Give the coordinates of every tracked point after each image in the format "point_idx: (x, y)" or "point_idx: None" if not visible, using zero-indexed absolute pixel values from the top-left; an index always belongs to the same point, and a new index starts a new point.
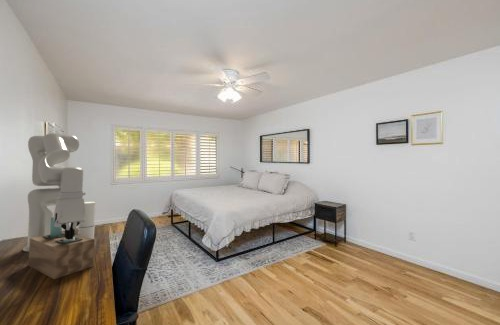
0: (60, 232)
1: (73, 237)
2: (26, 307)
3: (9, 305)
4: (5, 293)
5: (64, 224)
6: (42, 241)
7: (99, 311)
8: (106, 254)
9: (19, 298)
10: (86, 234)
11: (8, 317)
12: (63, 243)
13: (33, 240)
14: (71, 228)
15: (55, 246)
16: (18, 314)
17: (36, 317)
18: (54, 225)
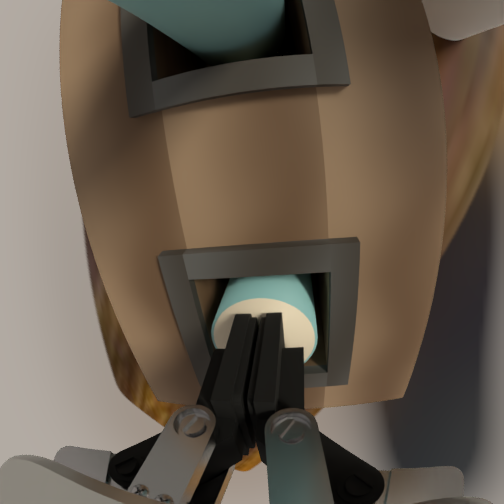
0: (251, 22)
1: (309, 334)
2: (142, 385)
3: (112, 353)
4: (91, 280)
5: (162, 482)
6: (83, 146)
7: (240, 461)
8: (478, 180)
9: (124, 340)
10: (494, 3)
11: (121, 389)
12: (201, 385)
13: (65, 27)
14: (262, 455)
15: (156, 376)
16: (134, 394)
17: (160, 420)
18: (60, 461)
